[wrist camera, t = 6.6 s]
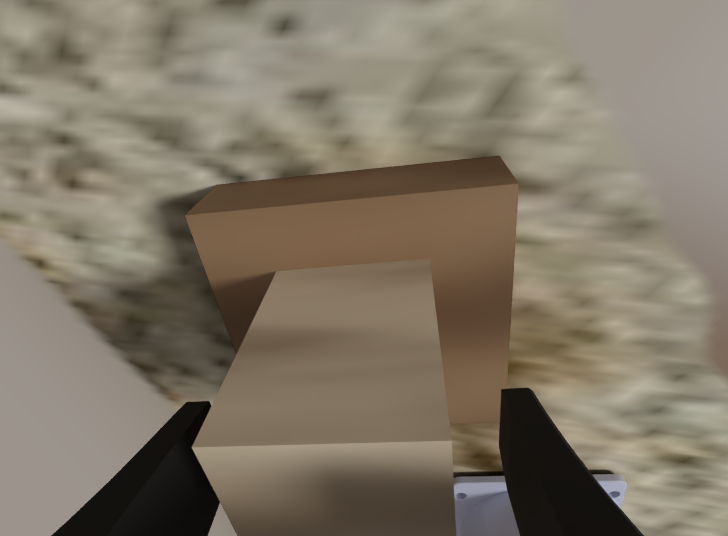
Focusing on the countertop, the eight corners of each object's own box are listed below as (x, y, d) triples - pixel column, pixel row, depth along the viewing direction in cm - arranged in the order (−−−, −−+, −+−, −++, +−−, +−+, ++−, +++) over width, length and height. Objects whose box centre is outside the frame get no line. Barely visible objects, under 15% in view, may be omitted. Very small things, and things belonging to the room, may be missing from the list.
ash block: (437, 375, 14) (458, 578, 9) (307, 381, 15) (258, 574, 10) (429, 258, 12) (451, 440, 7) (276, 271, 13) (191, 447, 7)
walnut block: (489, 363, 18) (504, 422, 15) (282, 372, 19) (263, 429, 16) (495, 150, 13) (518, 183, 11) (222, 179, 14) (184, 215, 12)
